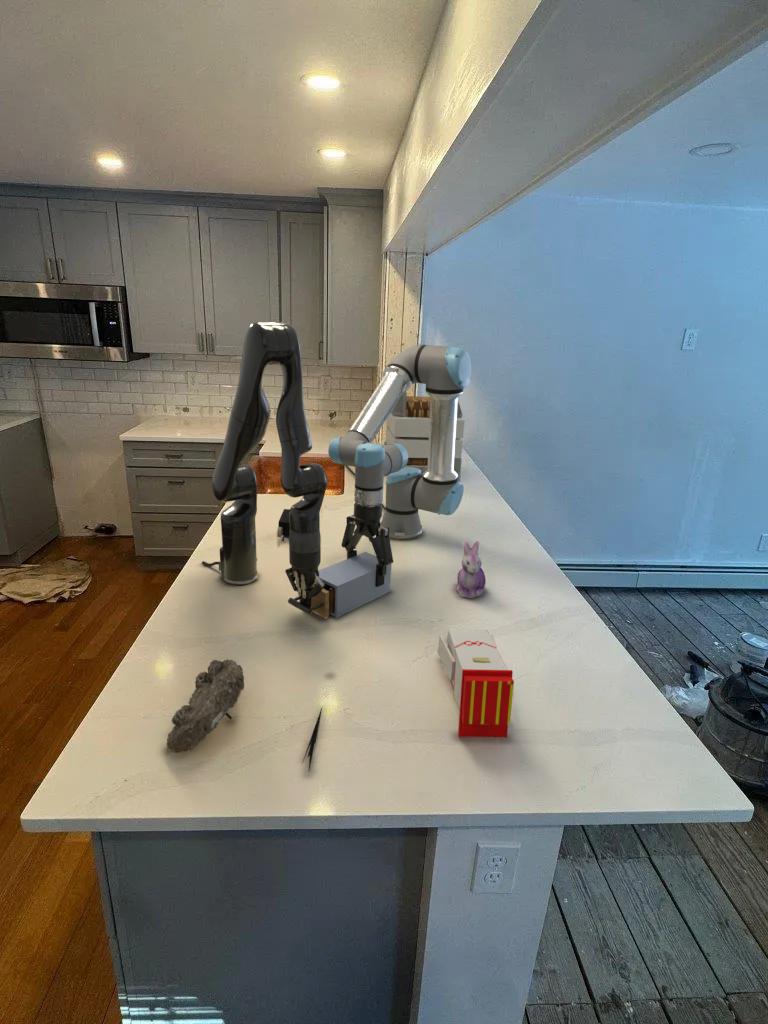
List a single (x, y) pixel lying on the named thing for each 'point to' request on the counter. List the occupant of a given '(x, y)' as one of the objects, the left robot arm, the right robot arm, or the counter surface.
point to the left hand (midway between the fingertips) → (305, 608)
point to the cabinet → (354, 582)
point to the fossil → (206, 705)
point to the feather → (313, 740)
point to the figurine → (471, 573)
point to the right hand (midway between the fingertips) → (365, 578)
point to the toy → (478, 682)
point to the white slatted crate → (418, 430)
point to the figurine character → (284, 524)
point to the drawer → (318, 602)
